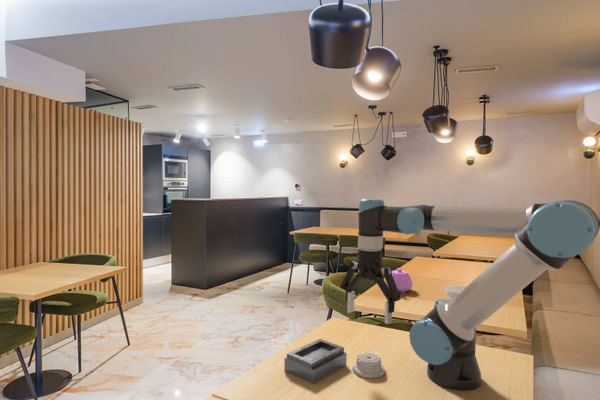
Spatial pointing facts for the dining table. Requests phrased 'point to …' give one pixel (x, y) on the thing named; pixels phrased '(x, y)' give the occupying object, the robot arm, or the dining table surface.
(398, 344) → the dining table surface
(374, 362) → the mechanical component
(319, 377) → the dark grey rectangular box
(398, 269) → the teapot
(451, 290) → the bowl
